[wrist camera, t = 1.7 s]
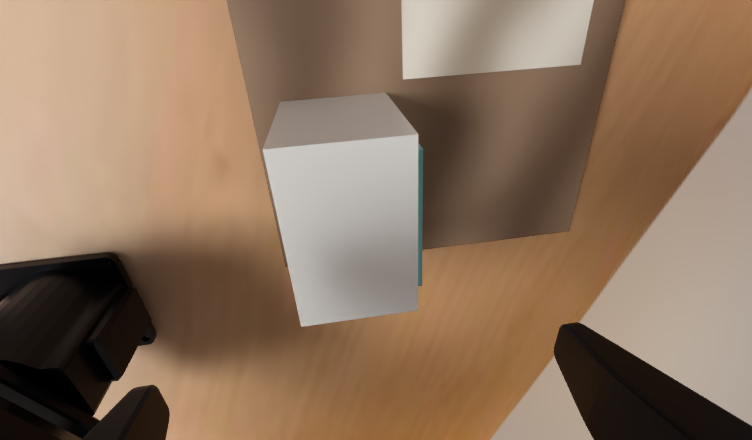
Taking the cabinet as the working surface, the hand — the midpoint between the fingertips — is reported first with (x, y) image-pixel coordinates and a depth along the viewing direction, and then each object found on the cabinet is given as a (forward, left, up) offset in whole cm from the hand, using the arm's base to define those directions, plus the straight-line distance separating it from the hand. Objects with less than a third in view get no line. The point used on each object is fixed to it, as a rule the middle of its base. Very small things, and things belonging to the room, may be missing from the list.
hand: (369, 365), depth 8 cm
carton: (0, 0, -11) cm, 11 cm away
